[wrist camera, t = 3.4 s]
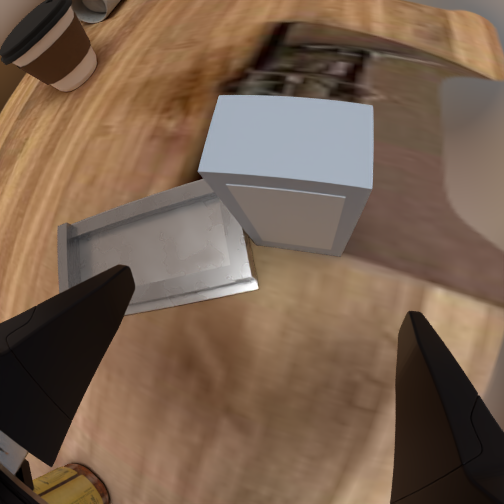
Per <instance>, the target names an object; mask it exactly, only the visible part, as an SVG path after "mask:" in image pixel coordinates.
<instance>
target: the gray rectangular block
mask: <svg viewBox="0 0 504 504" xmlns="http://www.w3.org/2000/svg"><path fill="white" fill-rule="evenodd" d="M198 172H199V173H200V175H201V176H202V177H203V178H204V180H205V181H206V182H207V183H208V185H209V186H210V187H211V189H212V190H213V191H214V192H215V194H216V195H217V196H218V197H219V199H220V200H221V201H222V202H223V204H224V205H225V206H226V207H227V209H228V210H229V211H230V212H231V214H232V215H233V216H234V218H235V219H236V220H237V221H238V223H239V224H240V225H241V226H242V228H243V229H244V230H245V231H246V233H247V234H248V235H249V237H250V238H251V239H252V240H253V242H254V243H255V244H256V245H260V246H268V247H275V248H282V249H289V250H297V251H304V252H311V253H318V254H326V255H333V256H340V257H341V255H342V253H343V251H344V249H345V247H346V244H347V242H348V240H349V238H350V236H351V234H352V232H353V230H354V228H355V226H356V224H357V221H358V219H359V217H360V215H361V213H362V211H363V208H364V206H365V204H366V202H367V200H368V197H369V195H370V193H371V191H372V183H373V106H371V105H365V104H358V103H350V102H342V101H334V100H324V99H313V98H300V97H284V96H258V95H219V98H218V101H217V104H216V108H215V111H214V114H213V118H212V121H211V125H210V128H209V132H208V136H207V139H206V143H205V146H204V150H203V154H202V158H201V161H200V165H199V169H198Z"/></svg>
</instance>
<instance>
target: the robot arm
mask: <svg viewBox="0 0 504 504" xmlns="http://www.w3.org/2000/svg"><path fill="white" fill-rule="evenodd" d="M134 291H135V281H134V278H133V275H132V271H131V268H130V267H129V266H127V265H122V264H118V265H116V266H114V267H112V268H110V269H108V270H106V271H103V272H101V273H99V274H97V275H95V276H93V277H91V278H89V279H87V280H85V281H83V282H81V283H79V284H77V285H75V286H73V287H71V288H69V289H67V290H65V291H63V292H61V293H59V294H58V295H56V296H54V297H52V298H50V299H48V300H46V301H44V302H42V303H40V304H38V305H37V306H34V307H33V308H31V309H29V310H27V311H25V312H23V313H21V314H19V315H17V316H15V317H13V318H11V319H9V320H6V321H4V322H2V323H0V504H49V503H48V502H46V501H45V500H44V499H42V498H41V497H40V496H39V495H37V494H36V493H35V492H33V490H34V485H33V481H32V476H31V471H30V466H29V462H28V461H27V460H26V459H25V458H26V456H27V454H28V453H31V454H32V455H34V456H35V457H37V458H38V459H39V460H41V461H42V462H44V463H45V464H47V465H49V466H50V467H52V466H53V464H54V462H55V460H56V457H57V455H58V453H59V450H60V448H61V445H62V443H63V441H64V438H65V436H66V434H67V432H68V429H69V427H70V425H71V423H72V421H71V420H73V418H74V416H75V414H76V411H77V409H78V407H79V405H80V403H81V401H82V399H83V396H84V394H85V392H86V390H87V388H88V386H89V384H90V382H91V380H92V378H93V376H94V374H95V372H96V370H97V368H98V366H99V364H100V362H101V360H102V358H103V356H104V354H105V353H106V351H107V349H108V347H109V345H110V343H111V341H112V339H113V337H114V336H115V334H116V332H117V330H118V328H119V326H120V324H121V322H122V319H123V317H124V315H125V312H126V310H127V308H128V305H129V303H130V301H131V298H132V296H133V294H134ZM395 391H396V424H395V452H394V468H393V480H392V491H391V500H390V504H504V432H503V430H502V429H501V428H500V426H499V425H498V423H497V422H496V420H495V419H494V418H493V416H492V414H491V413H490V411H489V410H488V408H487V407H486V405H485V404H484V402H483V400H482V399H481V397H480V396H479V395H478V393H477V391H476V389H475V388H474V386H473V385H472V383H471V382H470V380H469V379H468V377H467V376H466V374H465V373H464V371H463V370H462V368H461V367H460V365H459V364H458V362H457V361H456V359H455V358H454V357H453V355H452V354H451V352H450V351H449V349H448V348H447V347H446V345H445V344H444V342H443V341H442V340H441V338H440V337H439V335H438V334H437V333H436V331H435V330H434V329H433V327H432V326H431V325H430V323H429V322H428V321H427V319H426V318H425V317H424V315H423V314H422V313H421V312H417V311H408V312H407V314H406V316H405V318H404V321H403V323H402V325H401V328H400V330H399V334H398V350H397V366H396V379H395Z"/></svg>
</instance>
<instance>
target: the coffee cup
mask: <svg viewBox="0 0 504 504" xmlns="http://www.w3.org/2000/svg"><path fill="white" fill-rule="evenodd" d="M71 5H72V0H46V1H44V2H43V3H41V4H40V5H38V6H37V7H36V8H35V9H33V11H31V12H30V13H29V14H28V15H27V16H26V17H25V18H24V19H23V20H22V21H21V22H20V23H19V24H18V25H17V26H16V27H15V28H14V29H13V30H12V32H11V33H10V34H9V35H8V37H7V38H6V40H5V41H4V43H3V45H2V46H1V49H0V55H1V56H2V58H1V61H2V62H3V63H5V64H6V65H7V64H10V63H14V64H16V65H17V67H19V68H20V69H22V70H23V71H25V72H27V73H28V74H30V75H32V76H34V77H35V78H37V79H39V80H40V81H42V82H44V83H46V84H47V85H49V84H50V85H52V86H53V87H55V88H57V89H58V90H60V91H64V92H68V91H72V90H74V89H76V88H78V87H79V86H80V85H82V84H83V83H84V82H85V81H86V80H87V79H88V78H89V77H90V76H91V75H92V73H93V72H94V70H95V68H96V65H97V59H96V54H95V52H94V51H93V49H92V47H91V44H90V40H89V38H88V36H87V35H86V33H85V31H84V29H83V27H82V25H81V23H80V21H79V19H78V17H77V15H76V13H75V12H73V11H72V9H71V7H70V6H71Z"/></svg>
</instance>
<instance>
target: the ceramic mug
mask: <svg viewBox="0 0 504 504" xmlns="http://www.w3.org/2000/svg"><path fill="white" fill-rule="evenodd" d="M120 1H121V0H72V5H71V6H70V7H71V9H72V11H73V12H75V13H76V15H77V17H78V19H79V21H81V22H82V21H84V22H87V23H98V22H101V21H103V20H104V19H105V18H106V17H107V16H108V15H109V14H110V12H111V11H112V10H113V9H114V8H115V7H116V5H117V4H118V3H119V2H120Z"/></svg>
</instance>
